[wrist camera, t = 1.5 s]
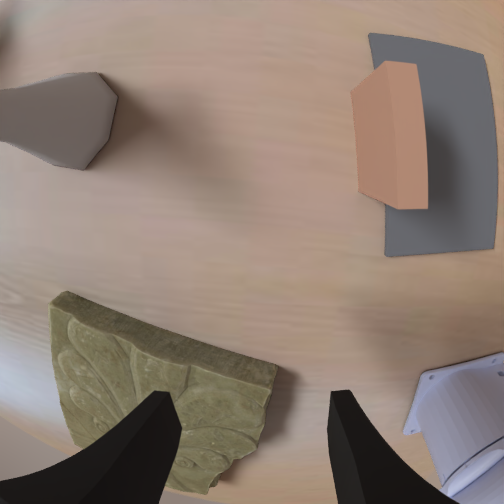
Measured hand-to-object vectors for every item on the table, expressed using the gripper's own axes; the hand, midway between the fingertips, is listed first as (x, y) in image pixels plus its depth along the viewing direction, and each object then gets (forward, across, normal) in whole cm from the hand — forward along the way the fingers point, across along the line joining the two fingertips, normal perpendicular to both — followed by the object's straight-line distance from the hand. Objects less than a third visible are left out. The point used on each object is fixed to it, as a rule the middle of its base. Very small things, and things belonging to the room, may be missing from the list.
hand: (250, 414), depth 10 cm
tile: (+10, -7, -9) cm, 15 cm away
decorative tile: (+11, +11, +12) cm, 20 cm away
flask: (+11, +12, -13) cm, 21 cm away
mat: (+10, -12, -9) cm, 18 cm away
